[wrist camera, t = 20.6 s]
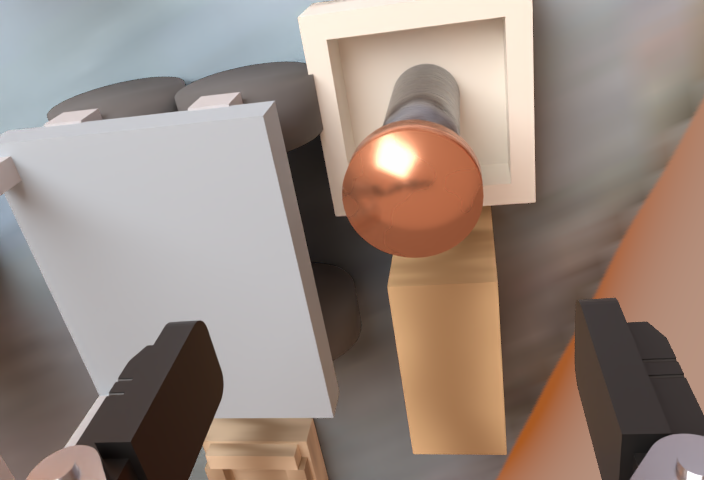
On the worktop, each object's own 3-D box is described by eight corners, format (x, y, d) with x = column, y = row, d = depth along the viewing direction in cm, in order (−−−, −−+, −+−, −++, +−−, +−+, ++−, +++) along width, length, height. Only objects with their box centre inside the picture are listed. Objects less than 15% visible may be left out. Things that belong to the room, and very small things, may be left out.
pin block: (237, 488, 46) (223, 525, 43) (211, 417, 42) (195, 453, 40) (331, 489, 44) (323, 528, 42) (312, 417, 41) (302, 454, 38)
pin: (380, 145, 30) (349, 258, 21) (372, 51, 28) (334, 134, 19) (476, 141, 29) (483, 256, 20) (475, 43, 27) (483, 127, 18)
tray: (345, 188, 32) (335, 216, 29) (312, 3, 28) (297, 17, 25) (529, 173, 30) (535, 202, 28) (525, -27, 26) (532, -15, 23)
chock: (420, 359, 37) (413, 454, 31) (400, 209, 32) (387, 287, 26) (499, 357, 36) (506, 454, 30) (490, 202, 31) (497, 281, 25)
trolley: (172, 310, 38) (6, 568, 24) (87, 77, 31) (-215, 249, 17) (369, 302, 35) (310, 583, 22) (324, 46, 29) (196, 218, 15)
